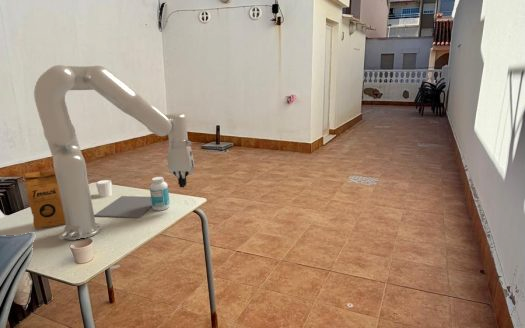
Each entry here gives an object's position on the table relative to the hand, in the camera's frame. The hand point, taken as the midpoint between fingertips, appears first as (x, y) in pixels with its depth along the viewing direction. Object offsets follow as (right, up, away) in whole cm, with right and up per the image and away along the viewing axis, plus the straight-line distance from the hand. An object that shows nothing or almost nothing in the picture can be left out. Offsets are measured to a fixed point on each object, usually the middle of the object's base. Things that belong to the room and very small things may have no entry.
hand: (182, 186), depth 144 cm
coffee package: (-50, -15, -9) cm, 52 cm away
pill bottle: (-10, -10, +4) cm, 15 cm away
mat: (-25, -9, +6) cm, 27 cm away
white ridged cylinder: (-42, -6, +21) cm, 48 cm away
